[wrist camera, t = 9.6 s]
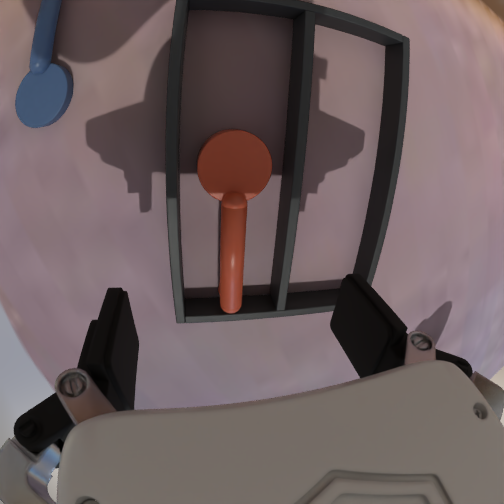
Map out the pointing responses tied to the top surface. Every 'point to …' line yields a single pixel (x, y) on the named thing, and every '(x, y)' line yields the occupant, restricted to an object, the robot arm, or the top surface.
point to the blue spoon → (44, 75)
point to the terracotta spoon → (233, 199)
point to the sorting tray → (292, 156)
